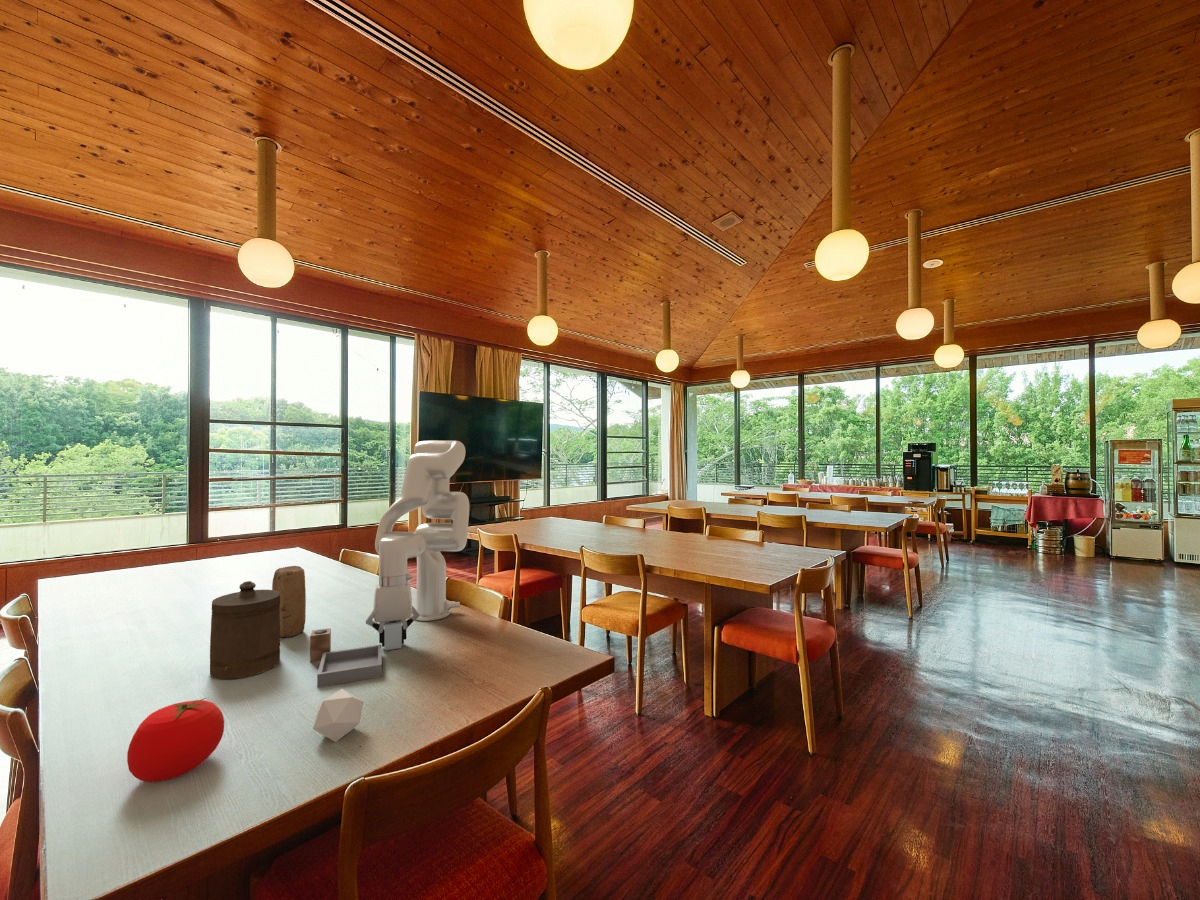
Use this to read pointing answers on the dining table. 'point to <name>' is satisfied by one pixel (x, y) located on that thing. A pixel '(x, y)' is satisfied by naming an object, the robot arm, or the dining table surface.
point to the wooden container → (245, 632)
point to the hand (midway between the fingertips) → (392, 642)
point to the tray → (350, 665)
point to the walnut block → (319, 643)
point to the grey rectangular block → (392, 635)
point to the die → (338, 715)
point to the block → (291, 599)
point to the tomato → (175, 740)
